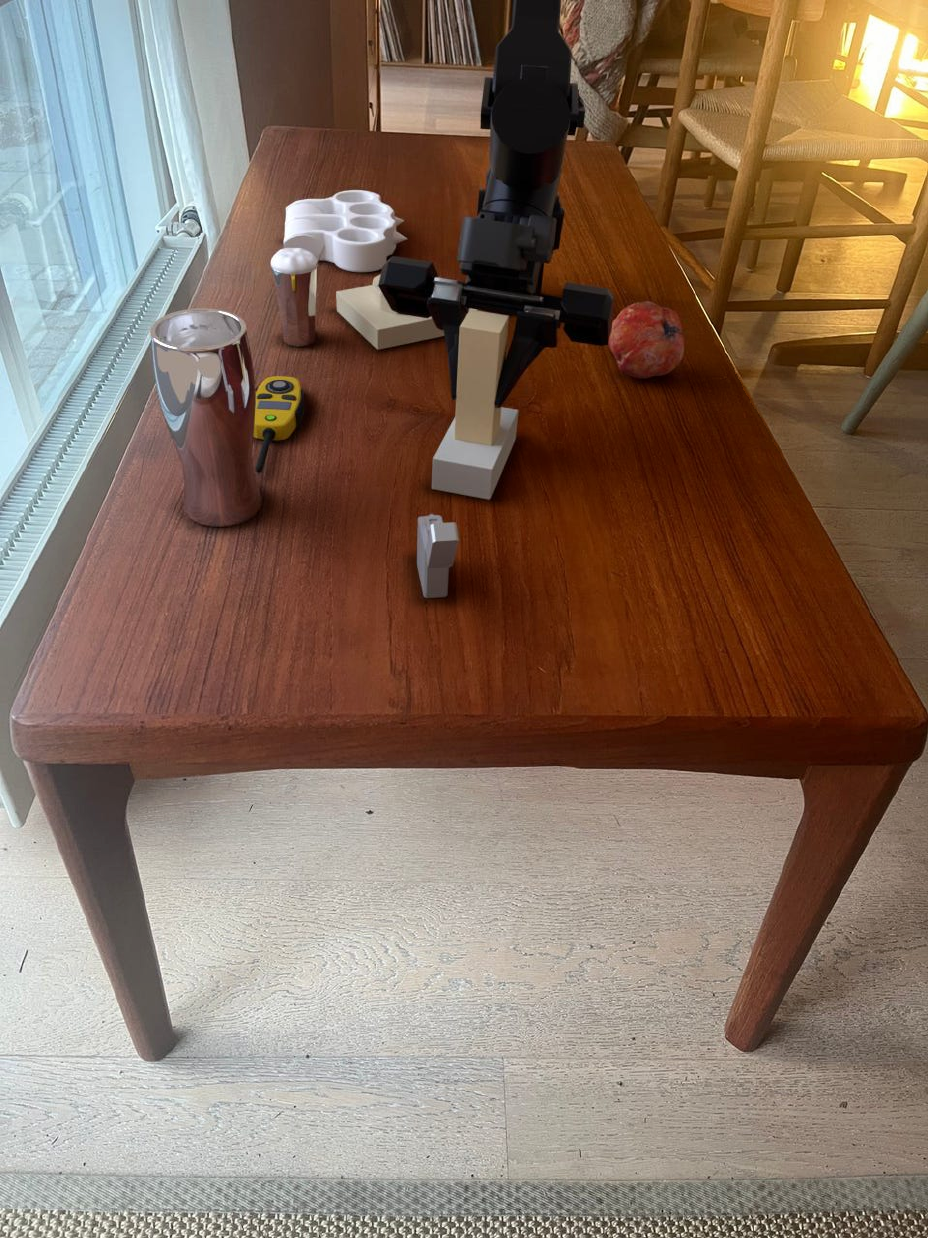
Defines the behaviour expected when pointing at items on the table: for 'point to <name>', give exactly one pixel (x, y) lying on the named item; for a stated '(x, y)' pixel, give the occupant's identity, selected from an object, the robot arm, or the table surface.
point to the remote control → (277, 411)
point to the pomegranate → (646, 340)
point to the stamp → (477, 412)
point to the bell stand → (382, 318)
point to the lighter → (435, 554)
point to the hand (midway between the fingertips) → (475, 402)
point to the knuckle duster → (344, 229)
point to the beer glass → (209, 410)
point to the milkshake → (296, 294)
